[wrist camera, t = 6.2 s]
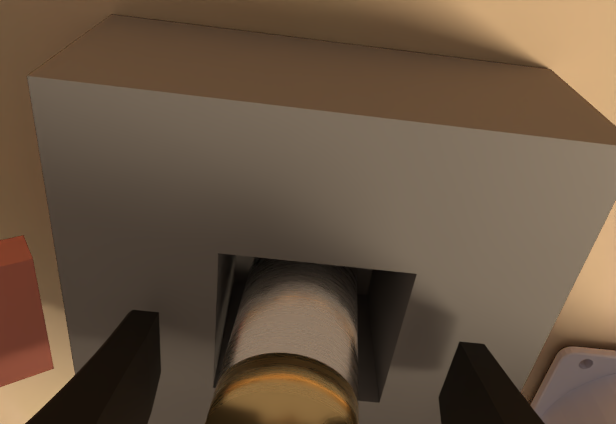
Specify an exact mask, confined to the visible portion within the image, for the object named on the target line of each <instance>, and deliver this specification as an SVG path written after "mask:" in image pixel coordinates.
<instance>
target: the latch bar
mask: <svg viewBox="0 0 616 424" xmlns="http://www.w3.org/2000/svg"><path fill="white" fill-rule="evenodd" d="M51 369H54V367H53V362H52V357H51V352H50V346H49V341H48V336H47V331H46V325H45V320H44V315H43V310H42V304H41V299H40V294H39V289H38V283H37V278H36V273H35V268H34V262H33V258H32V256H31V253H30V251H29V248H28V246H27V243H26V241H25V238H24V236H23V235H22V236H18V237H13V238H9V239H4V240H0V387H2V386H5V385H8V384H10V383H13V382H16V381H19V380H22V379H25V378H28V377H31V376H33V375H36V374H39V373H42V372H45V371H48V370H51Z"/></svg>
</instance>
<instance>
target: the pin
mask: <svg viewBox="0 0 616 424" xmlns="http://www.w3.org/2000/svg"><path fill="white" fill-rule="evenodd" d="M205 424H359V414H358V310H357V268H356V267H346V266H336V265H327V264H317V263H307V262H298V261H288V260H278V259H269V258H259V257H254V258H253V261H252V265H251V268H250V272H249V275H248V279H247V282H246V285H245V289H244V292H243V296H242V299H241V302H240V306H239V309H238V313H237V316H236V320H235V323H234V326H233V330H232V333H231V337H230V340H229V343H228V347H227V350H226V354H225V357H224V361H223V364H222V367H221V371H220V374H219V378H218V381H217V384H216V388H215V391H214V395H213V398H212V401H211V405H210V408H209V412H208V415H207V419H206V422H205Z"/></svg>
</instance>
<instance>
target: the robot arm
mask: <svg viewBox="0 0 616 424" xmlns="http://www.w3.org/2000/svg"><path fill="white" fill-rule="evenodd" d="M582 360H583V361H582ZM160 375H161V354H160V327H159V312H151V311H141V310H132V311H130V312H129V313H128V314H127V315H126V316H125V318H124V319H123V320H122V322H121V323H120V324H119V325H118V327H117V328H116V329H115V330H114V332H113V333H112V334H111V335H110V336H109V338H108V339H107V340H106V341H105V342H104V343H103V345H102V346H101V347H100V348H99V349H98V350H97V352H96V353H95V354H94V355H93V356H92V357H91V358H90V359H89V360H88V362H87V363H86V364H85V365H84V366H83V367H82V368H81V369H80V370H79V371H78V372H77V373H76V375H75V376H74V377H73V378H72V379H71V380H70V381H69V382H68V383H67V384H66V385H65V386H64V387H63V388H62V389H61V390H60V391H59V392H58V393H57V394H56V395H55V396H54V397H53V398H52V399H51V400H50V401H49V402H48V403H47V404H46V405H45V406H44V407H43V408H42V409H41V410H40V411H38V412H37V413H36V414H35V415H34V416H33V417H32V418H31V419H30V420H29V421H28V422H26V423H25V424H148V421H149V418H150V415H151V412H152V408H153V404H154V400H155V396H156V392H157V388H158V383H159V379H160ZM438 398H439V407H440V416H441V424H616V350H606V349H595V348H585V347H575V346H571V347H566V348H563V349H562V350H560V351H559V352H558V353H557V355H556V357H555V359H554V360H553V362H552V364H551V366H550V368H549V370H548V372H547V374H546V376H545V378H544V380H543V382H542V384H541V386H540V387H539V389H538V391H537V393H536V395H535V397H534V399H533V401H532V403H531V405H530V404H529V403H528V402H527V400H526V399H525V398H524V397H523V395H522V394H521V393H520V391H519V390H518V389H517V387H516V386H515V385H514V383H513V382H512V381H511V379H510V378H509V377H508V375H507V374H506V373H505V371H504V370H503V369H502V367H501V366H500V364H499V363H498V362H497V360H496V359H495V358H494V356H493V355H492V354H491V352H490V351H489V350H488V348H487V347H486V346H485V344H480V343H470V342H460V341H459V344H458V347H457V349H456V352H455V355H454V357H453V360H452V363H451V365H450V368H449V371H448V373H447V376H446V379H445V381H444V384H443V387H442V389H441V392H440V394H439V397H438Z"/></svg>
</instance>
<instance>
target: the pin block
mask: <svg viewBox="0 0 616 424" xmlns="http://www.w3.org/2000/svg"><path fill="white" fill-rule="evenodd" d="M27 79H28V85H29V91H30V98H31V104H32V110H33V116H34V122H35V129H36V135H37V141H38V147H39V153H40V160H41V166H42V172H43V178H44V184H45V191H46V197H47V203H48V209H49V215H50V222H51V228H52V234H53V240H54V246H55V253H56V259H57V265H58V271H59V277H60V284H61V290H62V296H63V302H64V308H65V315H66V321H67V327H68V333H69V339H70V346H71V352H72V358H73V364H74V370H75V375H76V373H77V372H78V371H79V370H80V369H81V368H82V367H83V366H84V365H85V364H86V363H87V362H88V360H89V359H90V358H91V357H92V356H93V355H94V354H95V353H96V352H97V350H98V349H99V348H100V347H101V346H102V345H103V343H104V342H105V341H106V340H107V339H108V338H109V336H110V335H111V334H112V333H113V332H114V330H115V329H116V328H117V327H118V325H119V324H120V323H121V322H122V320H123V319H124V318H125V316H126V315H127V314H128V313H129V312H130V311H132V310H141V311H151V312H159V327H160V354H161V375H160V379H159V383H158V388H157V392H156V396H155V400H154V404H153V408H152V412H151V415H150V418H149V421H148V424H205V422H206V419H207V415H208V412H209V408H210V405H211V401H212V398H213V395H214V391H215V388H216V384H217V381H218V378H219V374H220V371H221V367H222V364H223V361H224V357H225V354H226V350H227V347H228V343H229V340H230V337H231V333H232V330H233V326H234V323H235V320H236V316H237V313H238V309H239V306H240V302H241V299H242V296H243V292H244V289H245V285H246V282H247V279H248V275H249V272H250V268H251V265H252V261H253V258H254V257H259V258H269V259H278V260H288V261H298V262H307V263H317V264H327V265H336V266H346V267H356V268H357V310H358V414H359V424H441V416H440V407H439V398H438V397H439V394H440V392H441V389H442V387H443V384H444V381H445V379H446V376H447V373H448V371H449V368H450V365H451V363H452V360H453V357H454V355H455V352H456V349H457V347H458V344H459V341H460V342H470V343H480V344H485V346H486V347H487V348H488V350H489V351H490V352H491V354H492V355H493V356H494V358H495V359H496V360H497V362H498V363H499V364H500V366H501V367H502V369H503V370H504V371H505V373H506V374H507V375H508V377H509V378H510V379H511V381H512V382H513V383H514V385H515V386H516V387H517V389H518V390H519V391H520V392H521V390H522V388H523V386H524V384H525V382H526V380H527V378H528V376H529V374H530V372H531V370H532V368H533V366H534V364H535V362H536V360H537V358H538V356H539V354H540V352H541V350H542V348H543V346H544V344H545V342H546V340H547V338H548V336H549V334H550V332H551V330H552V328H553V326H554V324H555V322H556V320H557V318H558V316H559V314H560V312H561V310H562V308H563V306H564V304H565V302H566V300H567V298H568V295H569V293H570V291H571V289H572V287H573V285H574V283H575V281H576V279H577V277H578V275H579V273H580V271H581V269H582V267H583V265H584V263H585V261H586V259H587V257H588V255H589V253H590V251H591V249H592V247H593V245H594V243H595V241H596V239H597V237H598V235H599V233H600V231H601V229H602V227H603V225H604V223H605V221H606V219H607V217H608V215H609V213H610V211H611V209H612V207H613V205H614V203H615V201H616V126H615V125H614V124H613V123H611V122H610V121H609V120H608V119H607V118H606V117H605V116H603V115H602V114H601V113H600V112H599V111H598V110H597V109H595V108H594V107H593V106H592V105H591V104H590V103H589V102H587V101H586V100H585V99H584V98H583V97H582V96H581V95H579V94H578V93H577V92H576V91H575V90H574V89H573V88H571V87H570V86H569V85H568V84H567V83H566V82H565V81H563V80H562V79H561V78H560V77H559V76H558V75H557V74H555V73H554V72H553V71H552V70H551V69H545V68H537V67H529V66H521V65H513V64H505V63H497V62H489V61H481V60H473V59H465V58H457V57H449V56H441V55H433V54H425V53H417V52H409V51H401V50H393V49H385V48H377V47H369V46H361V45H353V44H345V43H337V42H329V41H321V40H313V39H305V38H297V37H289V36H281V35H273V34H265V33H257V32H249V31H241V30H233V29H225V28H217V27H209V26H201V25H193V24H185V23H177V22H169V21H161V20H153V19H145V18H137V17H129V16H121V15H113V14H111V15H110V16H109V17H107V18H106V19H105V20H103V21H102V22H100V23H99V24H98V25H96V26H95V27H94V28H92V29H91V30H89V31H88V32H87V33H85V34H84V35H83V36H81V37H80V38H78V39H77V40H76V41H74V42H73V43H72V44H70V45H69V46H67V47H66V48H65V49H63V50H62V51H61V52H59V53H58V54H56V55H55V56H54V57H52V58H51V59H50V60H48V61H47V62H45V63H44V64H43V65H41V66H40V67H39V68H37V69H36V70H34V71H33V72H32V73H30V74H29V75H28V76H27Z"/></svg>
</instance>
